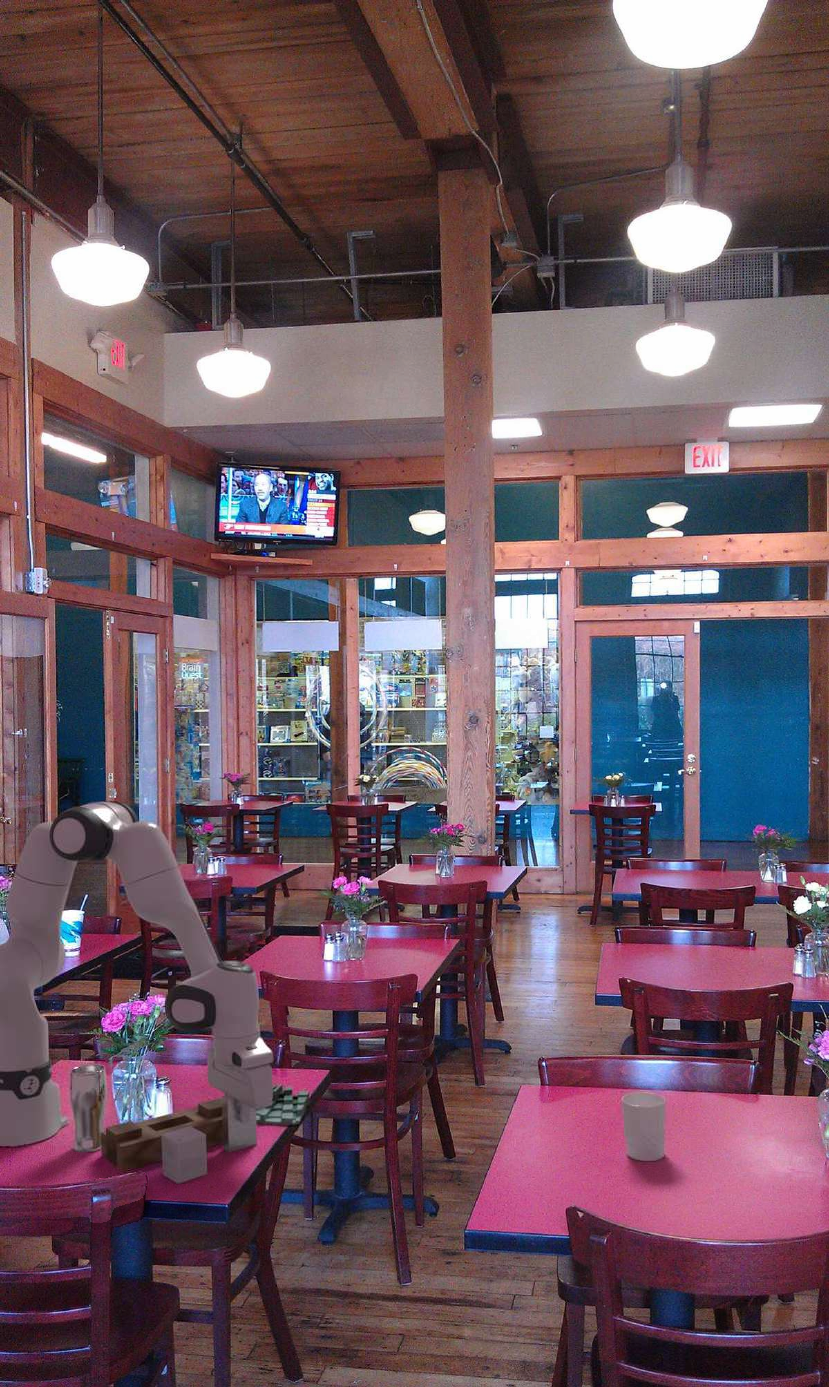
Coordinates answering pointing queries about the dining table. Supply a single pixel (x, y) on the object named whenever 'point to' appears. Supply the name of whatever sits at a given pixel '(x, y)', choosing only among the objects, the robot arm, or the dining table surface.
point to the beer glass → (88, 1105)
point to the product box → (184, 1154)
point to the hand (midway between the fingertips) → (239, 1119)
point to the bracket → (237, 1126)
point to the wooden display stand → (158, 1134)
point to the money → (284, 1107)
